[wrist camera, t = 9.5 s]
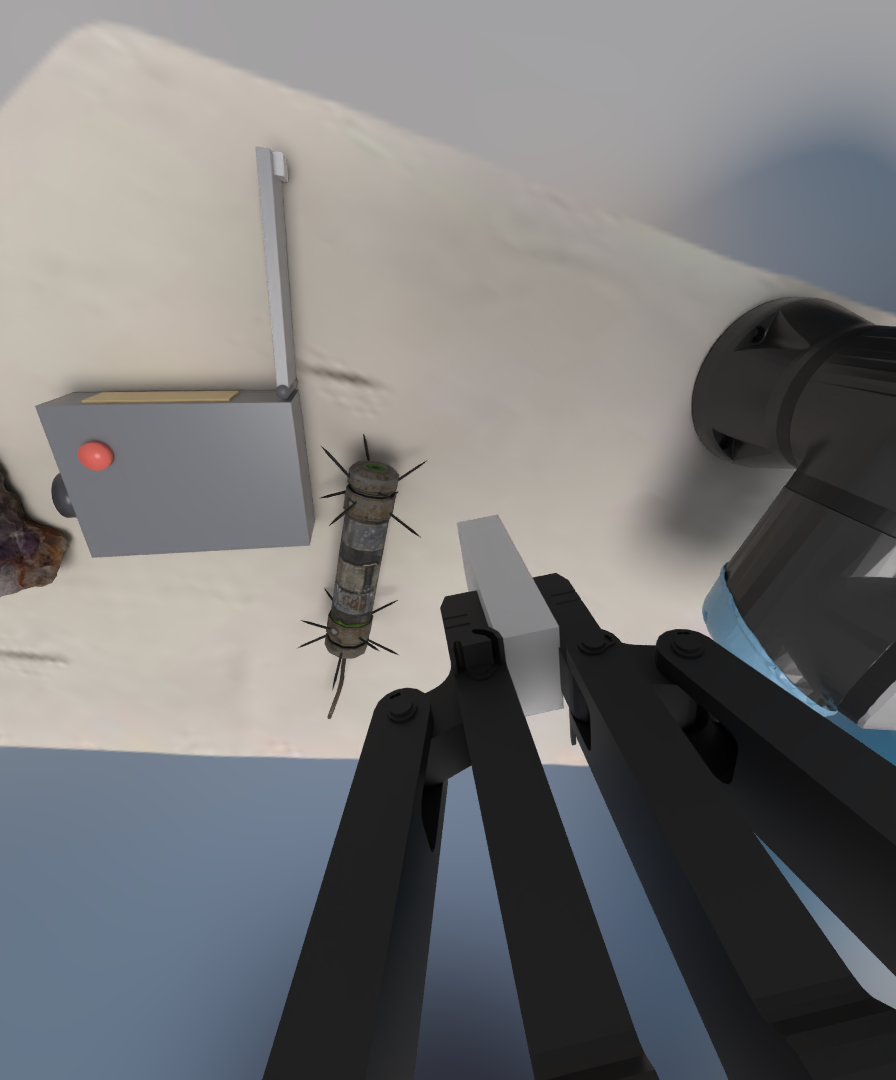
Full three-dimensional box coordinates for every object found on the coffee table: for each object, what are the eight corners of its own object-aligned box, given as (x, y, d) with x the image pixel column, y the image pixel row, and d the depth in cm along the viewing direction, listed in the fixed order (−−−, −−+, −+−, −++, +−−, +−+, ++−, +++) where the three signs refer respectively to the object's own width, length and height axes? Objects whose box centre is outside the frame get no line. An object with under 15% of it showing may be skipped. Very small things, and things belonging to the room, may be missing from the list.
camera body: (298, 388, 40) (289, 402, 35) (314, 520, 45) (308, 549, 40) (50, 390, 37) (0, 406, 32) (100, 531, 43) (64, 563, 37)
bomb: (354, 476, 32) (309, 780, 44) (470, 473, 38) (403, 738, 51) (289, 426, 39) (267, 700, 51) (397, 430, 46) (354, 672, 58)
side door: (304, 388, 40) (297, 399, 36) (285, 387, 39) (276, 399, 35) (289, 164, 33) (279, 146, 29) (266, 161, 33) (253, 143, 28)
